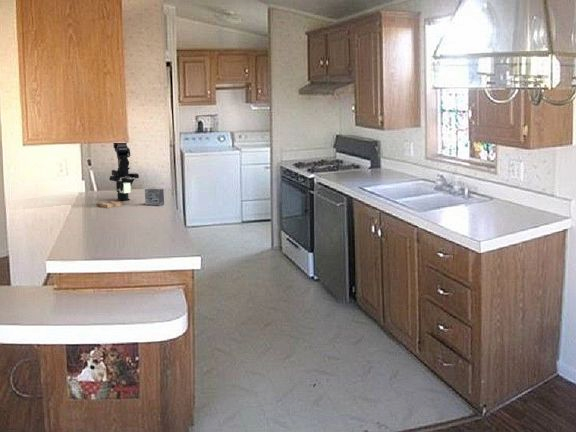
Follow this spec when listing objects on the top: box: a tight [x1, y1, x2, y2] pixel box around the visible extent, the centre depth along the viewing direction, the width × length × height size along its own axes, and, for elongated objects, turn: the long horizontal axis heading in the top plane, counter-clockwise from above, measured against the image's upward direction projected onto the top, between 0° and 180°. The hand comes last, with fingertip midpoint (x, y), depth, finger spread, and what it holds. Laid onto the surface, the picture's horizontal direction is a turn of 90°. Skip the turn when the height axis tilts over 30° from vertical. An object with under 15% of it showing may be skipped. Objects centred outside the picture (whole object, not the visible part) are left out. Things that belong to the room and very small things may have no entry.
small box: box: [144, 188, 165, 207], centre depth 434 cm, size 11×6×10 cm, turn 71°
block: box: [119, 182, 132, 194], centre depth 432 cm, size 5×5×6 cm
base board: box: [95, 200, 124, 209], centre depth 435 cm, size 12×12×2 cm
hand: (125, 190), depth 432 cm, fingers closed on block, 5 cm apart
